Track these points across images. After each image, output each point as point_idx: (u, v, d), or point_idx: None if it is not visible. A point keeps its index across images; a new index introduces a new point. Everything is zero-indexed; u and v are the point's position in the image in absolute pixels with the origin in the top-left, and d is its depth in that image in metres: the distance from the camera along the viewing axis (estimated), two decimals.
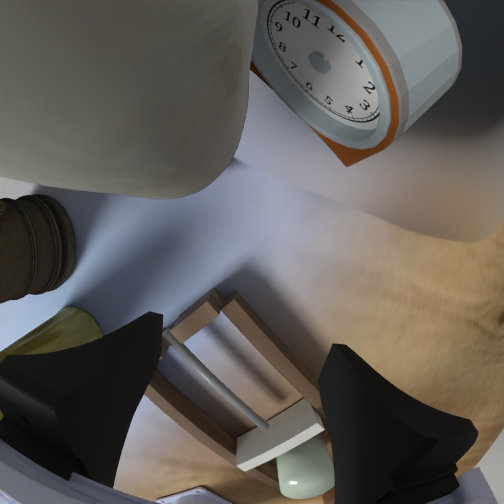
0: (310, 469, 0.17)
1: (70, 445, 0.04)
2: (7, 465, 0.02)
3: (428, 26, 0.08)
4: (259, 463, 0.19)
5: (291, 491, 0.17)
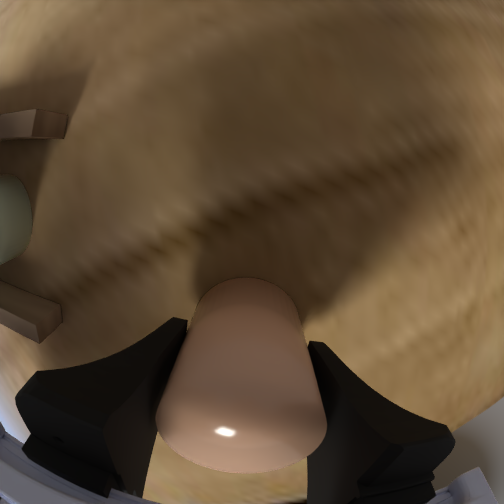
0: None
1: (113, 463, 0.04)
2: (7, 465, 0.02)
3: None
4: None
5: None
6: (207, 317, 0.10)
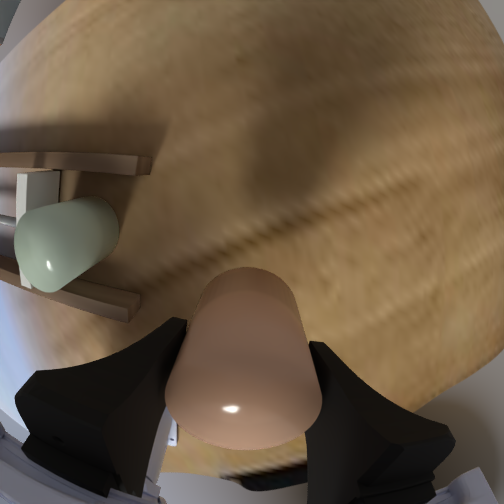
0: (18, 223, 0.12)
1: (112, 463, 0.04)
2: (7, 465, 0.02)
3: None
4: None
5: (37, 276, 0.13)
6: (210, 302, 0.11)
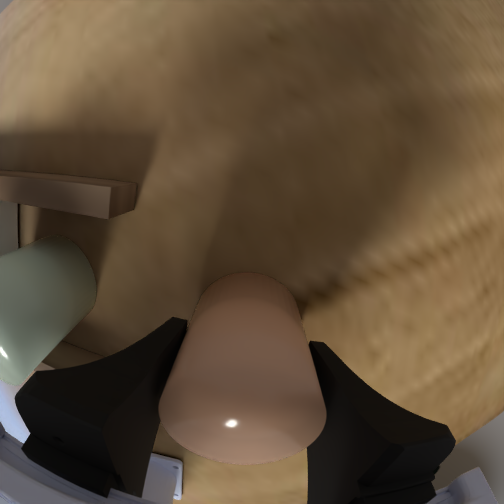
0: None
1: (113, 463, 0.04)
2: (7, 465, 0.02)
3: None
4: None
5: None
6: (206, 311, 0.10)
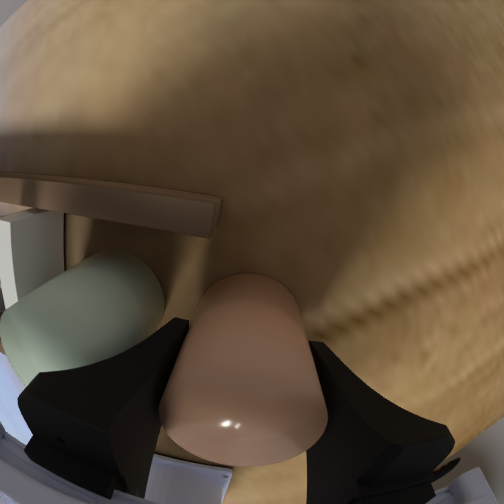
0: (3, 317, 0.07)
1: (117, 464, 0.04)
2: (7, 465, 0.02)
3: None
4: None
5: None
6: (206, 312, 0.10)
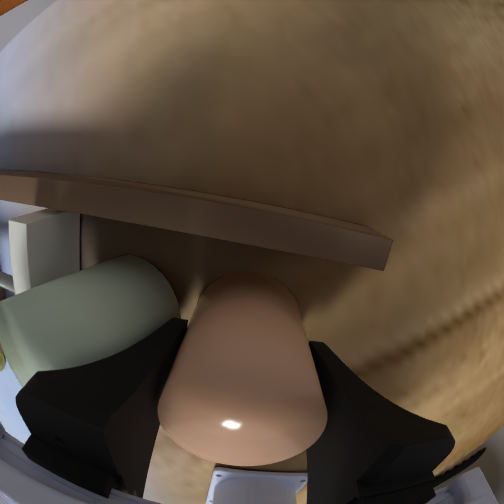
0: None
1: (114, 463, 0.04)
2: (7, 465, 0.02)
3: None
4: None
5: None
6: (206, 311, 0.10)
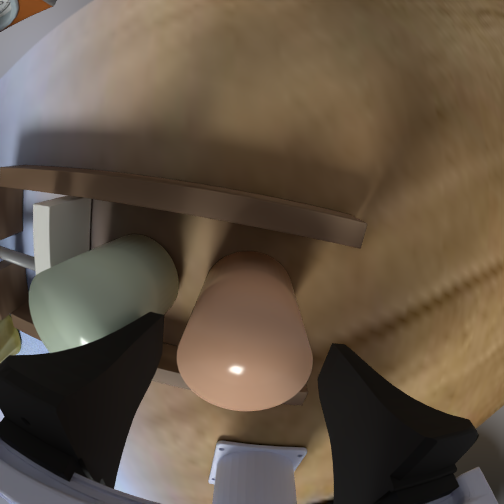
0: (33, 282, 0.09)
1: (71, 446, 0.04)
2: (7, 465, 0.02)
3: None
4: None
5: None
6: (215, 278, 0.12)
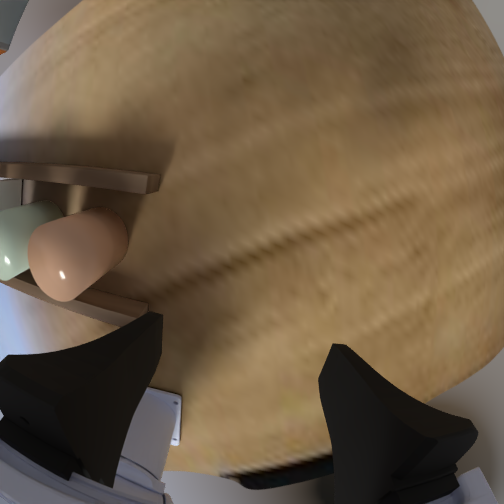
0: None
1: (70, 445, 0.04)
2: (7, 465, 0.02)
3: None
4: None
5: None
6: None
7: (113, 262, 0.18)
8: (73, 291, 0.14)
